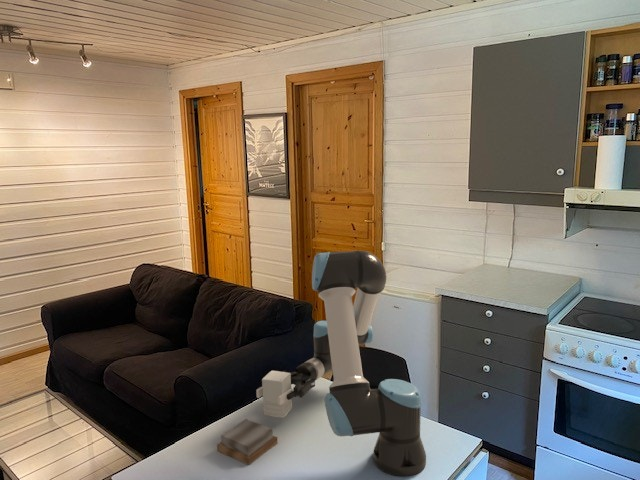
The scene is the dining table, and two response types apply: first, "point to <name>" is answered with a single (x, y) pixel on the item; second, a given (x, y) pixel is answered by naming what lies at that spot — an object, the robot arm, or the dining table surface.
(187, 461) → the dining table surface
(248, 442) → the tower plinth
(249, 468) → the dining table surface
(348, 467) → the dining table surface
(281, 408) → the supplement box
